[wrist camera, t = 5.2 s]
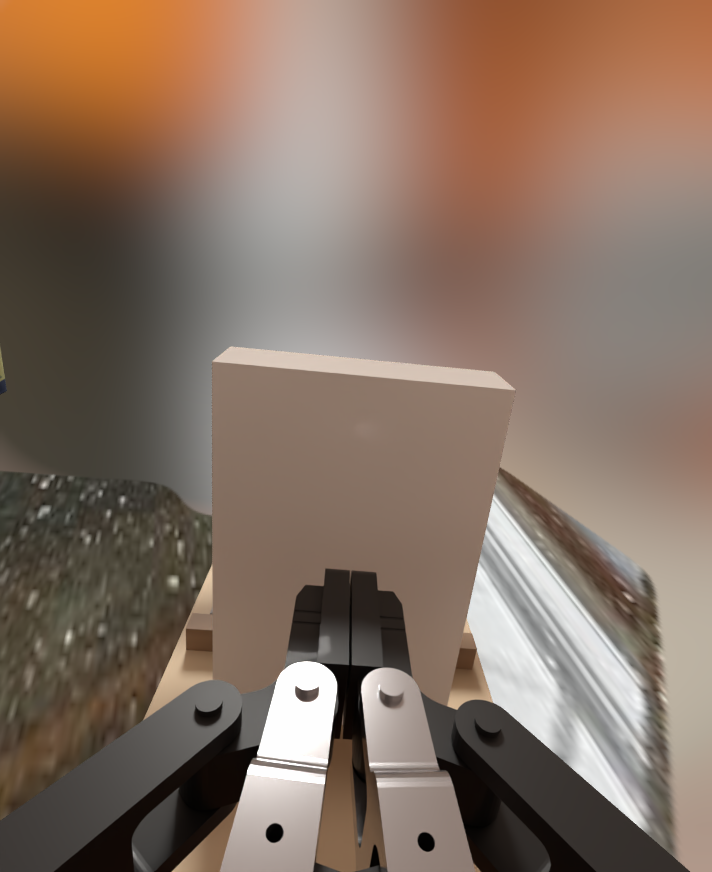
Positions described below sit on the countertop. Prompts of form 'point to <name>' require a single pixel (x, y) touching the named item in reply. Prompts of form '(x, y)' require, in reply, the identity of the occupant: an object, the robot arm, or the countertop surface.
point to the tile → (348, 498)
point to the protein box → (2, 377)
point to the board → (337, 817)
